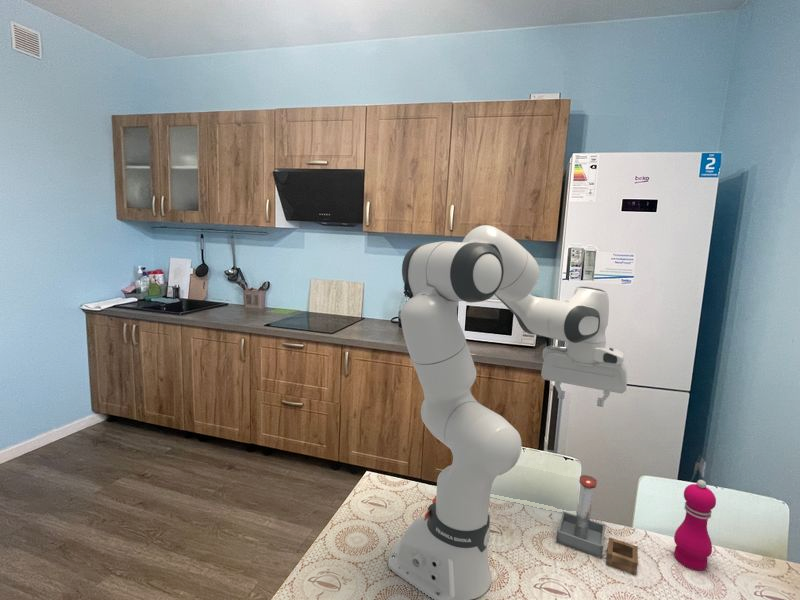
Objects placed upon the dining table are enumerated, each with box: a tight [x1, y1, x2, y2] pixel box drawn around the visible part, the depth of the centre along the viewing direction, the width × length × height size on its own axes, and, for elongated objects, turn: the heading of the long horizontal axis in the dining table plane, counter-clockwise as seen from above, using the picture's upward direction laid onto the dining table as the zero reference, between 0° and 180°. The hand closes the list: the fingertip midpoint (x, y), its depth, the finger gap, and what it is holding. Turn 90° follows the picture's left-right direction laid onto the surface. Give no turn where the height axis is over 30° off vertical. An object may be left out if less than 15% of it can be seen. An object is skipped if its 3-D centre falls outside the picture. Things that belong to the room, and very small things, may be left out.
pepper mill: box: [673, 479, 717, 571], centre depth 97 cm, size 7×7×20 cm
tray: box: [556, 510, 606, 560], centre depth 104 cm, size 10×9×3 cm
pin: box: [574, 474, 598, 540], centre depth 103 cm, size 4×4×15 cm
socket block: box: [605, 536, 639, 576], centre depth 97 cm, size 6×6×3 cm
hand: (580, 401), depth 110 cm, fingers open, 8 cm apart
